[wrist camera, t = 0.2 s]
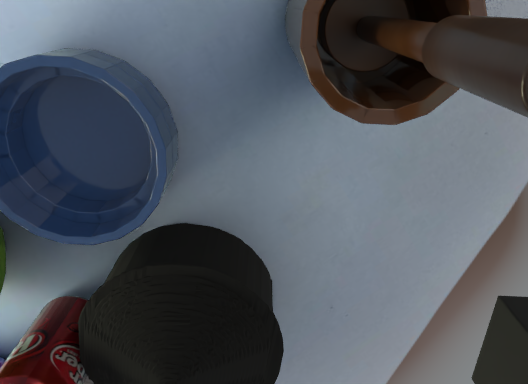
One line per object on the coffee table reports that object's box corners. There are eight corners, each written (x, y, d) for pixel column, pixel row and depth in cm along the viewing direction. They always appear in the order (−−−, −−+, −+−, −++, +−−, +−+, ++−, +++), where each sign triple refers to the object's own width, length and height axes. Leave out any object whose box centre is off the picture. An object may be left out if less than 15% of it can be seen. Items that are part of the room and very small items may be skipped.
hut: (267, 367, 51) (268, 502, 37) (109, 351, 50) (51, 484, 36) (291, 229, 44) (304, 333, 30) (108, 207, 43) (35, 304, 29)
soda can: (40, 337, 49) (-24, 434, 38) (46, 285, 46) (-22, 373, 35) (105, 351, 50) (60, 449, 39) (114, 301, 47) (69, 392, 36)
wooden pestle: (323, -20, 27) (500, -89, 7) (405, -16, 27) (813, -69, 7) (315, 64, 29) (434, 203, 9) (391, 68, 29) (678, 215, 9)
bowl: (-9, 42, 37) (-58, 49, 31) (177, 52, 37) (162, 61, 31) (22, 210, 43) (-14, 240, 37) (181, 217, 43) (169, 248, 38)
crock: (288, -41, 34) (309, -79, 19) (397, -35, 34) (509, -67, 19) (281, 71, 38) (293, 120, 22) (380, 77, 38) (462, 128, 22)
